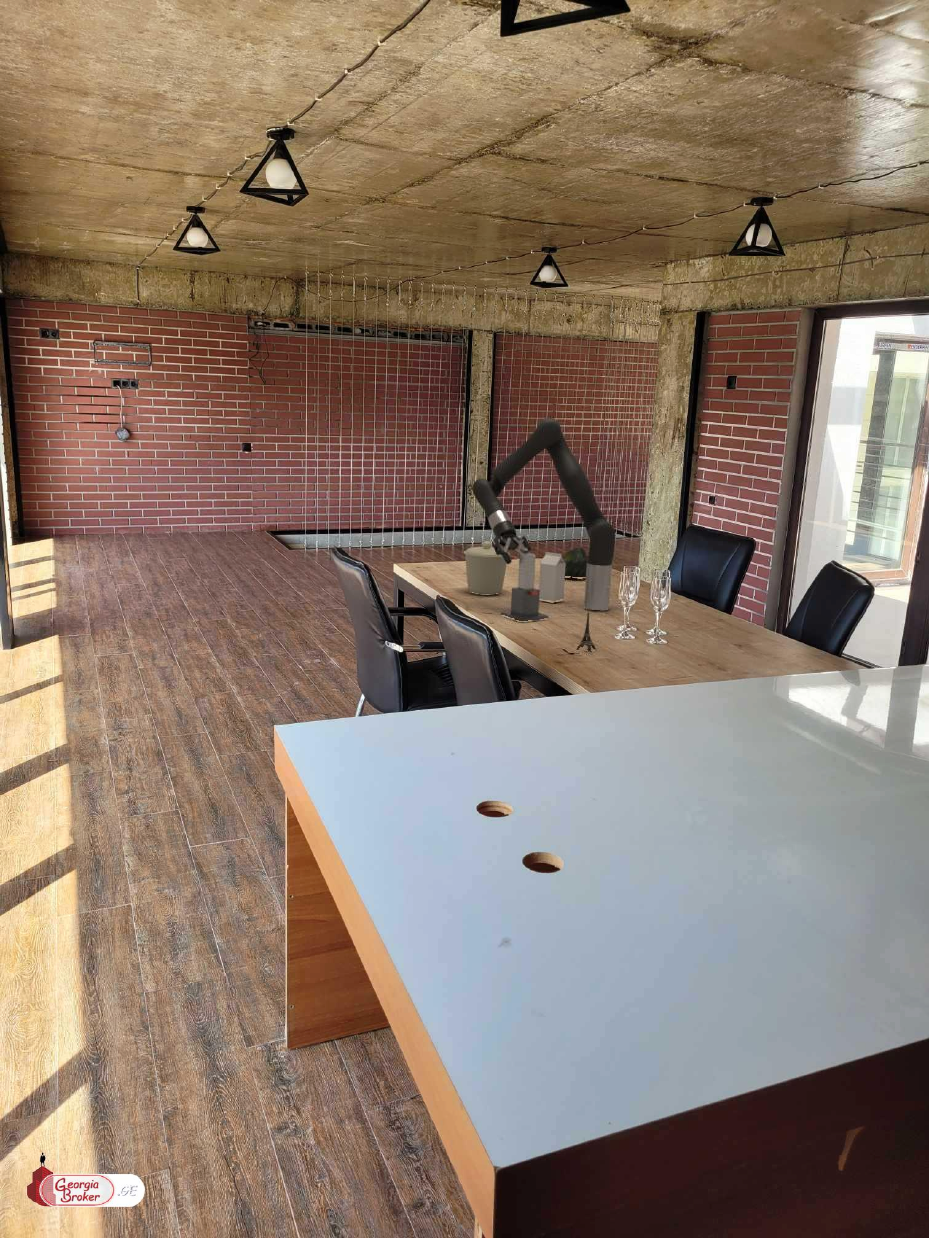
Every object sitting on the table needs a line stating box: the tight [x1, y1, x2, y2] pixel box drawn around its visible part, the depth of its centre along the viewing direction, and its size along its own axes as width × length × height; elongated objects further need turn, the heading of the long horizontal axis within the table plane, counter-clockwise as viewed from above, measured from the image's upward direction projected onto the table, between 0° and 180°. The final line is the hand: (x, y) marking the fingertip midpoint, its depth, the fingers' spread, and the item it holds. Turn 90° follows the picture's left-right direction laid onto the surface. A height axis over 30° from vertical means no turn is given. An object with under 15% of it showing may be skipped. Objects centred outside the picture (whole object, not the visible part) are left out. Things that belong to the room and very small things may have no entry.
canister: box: [463, 540, 510, 594], centre depth 368 cm, size 18×18×21 cm
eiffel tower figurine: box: [572, 609, 597, 652], centre depth 287 cm, size 15×10×13 cm
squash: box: [561, 547, 588, 577], centre depth 409 cm, size 14×15×15 cm
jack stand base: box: [500, 586, 549, 621], centre depth 328 cm, size 12×12×10 cm
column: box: [517, 552, 537, 591], centre depth 325 cm, size 4×4×16 cm
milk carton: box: [538, 551, 566, 601], centre depth 357 cm, size 7×7×19 cm
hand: (519, 562), depth 328 cm, fingers open, 8 cm apart
